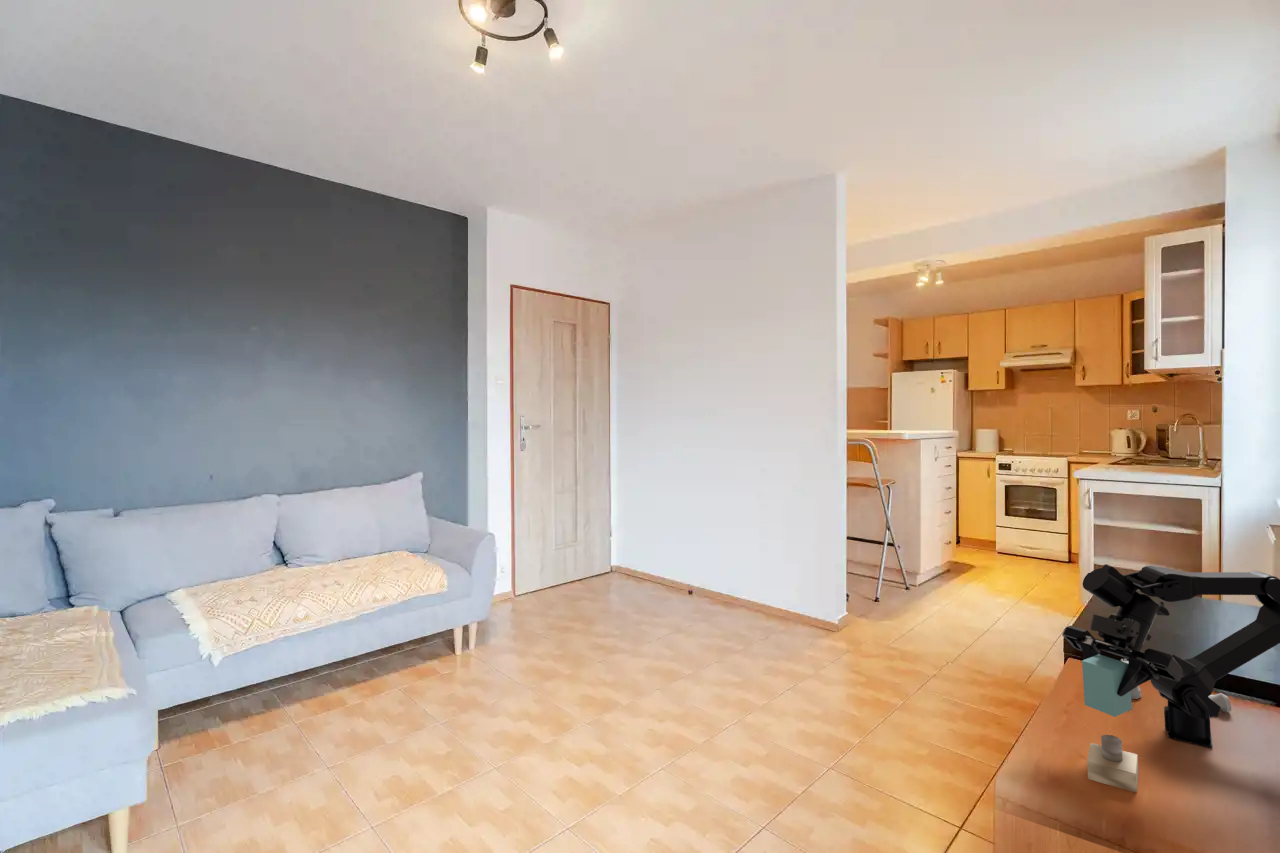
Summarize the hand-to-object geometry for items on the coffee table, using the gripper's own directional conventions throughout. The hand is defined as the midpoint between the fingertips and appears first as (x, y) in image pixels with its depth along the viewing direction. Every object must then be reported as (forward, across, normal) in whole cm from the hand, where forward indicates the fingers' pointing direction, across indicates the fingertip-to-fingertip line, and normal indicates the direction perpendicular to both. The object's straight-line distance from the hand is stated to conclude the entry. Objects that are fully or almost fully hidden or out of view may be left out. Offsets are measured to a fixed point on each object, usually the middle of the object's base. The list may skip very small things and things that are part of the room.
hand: (1102, 689), depth 117 cm
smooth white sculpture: (-14, +1, +34) cm, 37 cm away
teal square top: (+2, 0, +4) cm, 4 cm away
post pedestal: (+13, +4, +6) cm, 15 cm away
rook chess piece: (-10, -11, +30) cm, 33 cm away
